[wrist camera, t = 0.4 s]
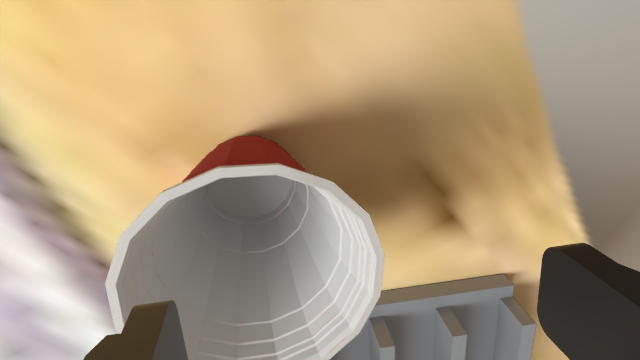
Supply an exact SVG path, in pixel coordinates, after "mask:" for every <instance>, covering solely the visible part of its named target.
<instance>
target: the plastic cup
mask: <svg viewBox="0 0 640 360" xmlns="http://www.w3.org/2000/svg"><path fill="white" fill-rule="evenodd" d="M384 256H385V254H384V252H383V249H382V246H381V244H380V241H379V239H378V236H377V233H376V231H375V228H374V225H373V223H372V220H371V218H370V215H369V214H368V213H367V212H366V211H365V210H364V209H363V208H362V207H360V206H359V205H358V204H357V203H356V202H355V201H354V200H353V199H352V198H350V197H349V196H348V195H347V194H346V193H345V192H344V191H343V190H342V189H340V188H339V187H338V186H337V185H336V184H335V183H334V182H332V181H330V180H328V179H325V178H322V177H319V176H316V175H313V174H310V173H308V172H307V171H306V170H305V169H304V168H303V167H302V166H301V165H300V164H299V163H298V162H296V161H295V160H294V159H293V158H292V157H291V156H290V155H289V154H288V153H287V152H286V151H285V150H284V149H282V148H281V147H280V146H279V145H278V144H277V143H275V142H272V141H270V140H267V139H264V138H262V137H259V136H239V137H235V138H233V139H230V140H228V141H226V142H223V143H221V144H219V145H218V146H217V147H216V148H215V149H214V150H213V151H212V152H210V153H209V154H208V155H207V156H206V157H205V158H204V159H203V160H202V161H201V162H200V163H199V164H198V165H197V166H196V167H195V168H194V169H193V170H192V171H191V173H190V174H189V175H188V176H187V177H186V178H185V179H184V180H183V181H182V182H181V183H180V184H177V185H175V186H173V187H170V188H168V189H166V190H164V191H163V192H162V193H161V194H160V195H159V196H158V197H157V198H156V199H155V200H154V201H153V202H152V203H151V204H150V205H149V206H148V207H147V208H146V209H145V210H144V211H143V212H142V213H141V214H140V215H139V216H138V217H137V219H136V220H135V221H134V222H133V223H132V224H131V225H130V226H129V227H128V228H127V229H126V230H125V231H124V232H123V233H122V234H121V235H120V238H119V241H118V244H117V247H116V251H115V254H114V257H113V260H112V263H111V267H110V270H109V273H108V276H107V279H106V283H105V286H106V290H107V295H108V299H109V304H110V308H111V313H112V318H113V322H114V327H115V329H116V331H117V332H118V333H119V334H121V332H122V330H123V328H124V326H125V323H126V321H127V319H128V316H129V314H130V312H131V310H132V308H133V307H134V306H135V305H141V304H148V303H155V302H162V301H169V300H173V301H174V302H175V303H176V306H177V309H178V314H179V319H180V323H181V328H182V333H183V337H184V342H185V347H186V351H187V356H188V360H329V359H331V358H332V357H333V356H334V355H335V354H336V353H337V352H338V351H340V350H341V349H342V348H343V347H344V346H345V345H346V344H348V343H349V342H350V341H351V340H352V339H353V338H354V337H356V336H357V335H358V334H359V333H360V331H361V329H362V328H363V326H364V324H365V322H366V321H367V319H368V317H369V315H370V313H371V312H372V310H373V308H374V306H375V305H376V303H377V301H378V299H379V297H380V295H381V285H382V275H383V266H384Z"/></svg>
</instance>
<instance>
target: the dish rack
mask: <svg viewBox="0 0 640 360" xmlns="http://www.w3.org/2000/svg"><path fill="white" fill-rule="evenodd" d="M513 289H514V285H513V284H512V283H511V282H510V281H509V279H508V278H507V277H506V276H505V275H504V274H499V275H492V276H485V277H478V278H471V279H464V280H457V281H450V282H443V283H436V284H429V285H422V286H415V287H408V288H401V289H394V290H387V291H381V295H380V297H379V299H378V301H377V303H376V305H375V306H374V308H373V310H372V312H371V313H370V315H369V317H368V319H367V321H366V322H365V324H364V326H363V328H362V329H361V331H360V333H359V334H358V335H357V336H356V337H354V338H353V339H352V340H351V341H350V342H349V343H348V344H346V345H345V346H344V347H343V348H342V349H341V350H340V351H338V352H337V353H336V354H335V355H334V356H333V357H332V358H331V359H329V360H531V354H532V348H533V342H534V336H535V330H536V323H535V321H534V320H533V319H532V318H531V317H530V316H529V315H528V313H527V312H526V311H525V310H524V309H523V308H522V307H521V306H520V304H519V303H518V302H517V301H516V300H515V299H514V298H513Z"/></svg>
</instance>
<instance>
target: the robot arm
mask: <svg viewBox="0 0 640 360" xmlns="http://www.w3.org/2000/svg"><path fill="white" fill-rule="evenodd" d="M537 312H538V318H539V321H540V324H541V326H542V328H543V330H544V332H545V333H546V335H547V336H548V337H549V338H550V339H551V340H552V341H553V342H554V344H555V345H556V346H557V347H558V348H559V349H560V350H561V351H562V352H563V353H564V354H565V355H566V356H567V357H568V358H569V359H570V360H640V272H639V271H636V270H633V269H631V268H628V267H625V266H623V265H620V264H618V263H617V262H615V261H613V260H612V259H610V258H609V257H607V256H606V255H604V254H602V253H601V252H599V251H598V250H596V249H595V248H593V247H591V246H590V245H588V244H585V243H577V244H570V245H563V246H556V247H550V248H548V249H546V251H545V252H544V254H543V258H542V267H541V276H540V286H539V295H538V305H537ZM84 360H188V356H187V351H186V347H185V342H184V337H183V333H182V328H181V323H180V319H179V314H178V309H177V306H176V303H175V302H174V301H173V300H169V301H162V302H155V303H148V304H141V305H135V306H134V307H133V308H132V310H131V312H130V314H129V316H128V319H127V321H126V323H125V326H124V328H123V330H122V332H121V334H114V335H107V336H106V337H105V338H104V339H102V340H101V341H100V342H99V343H98V344H97V345H96V346H95V347H94V348H93V349H92V350H91V351H90V352H89V353H88V354H87V355H86V356H85V358H84Z"/></svg>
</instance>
